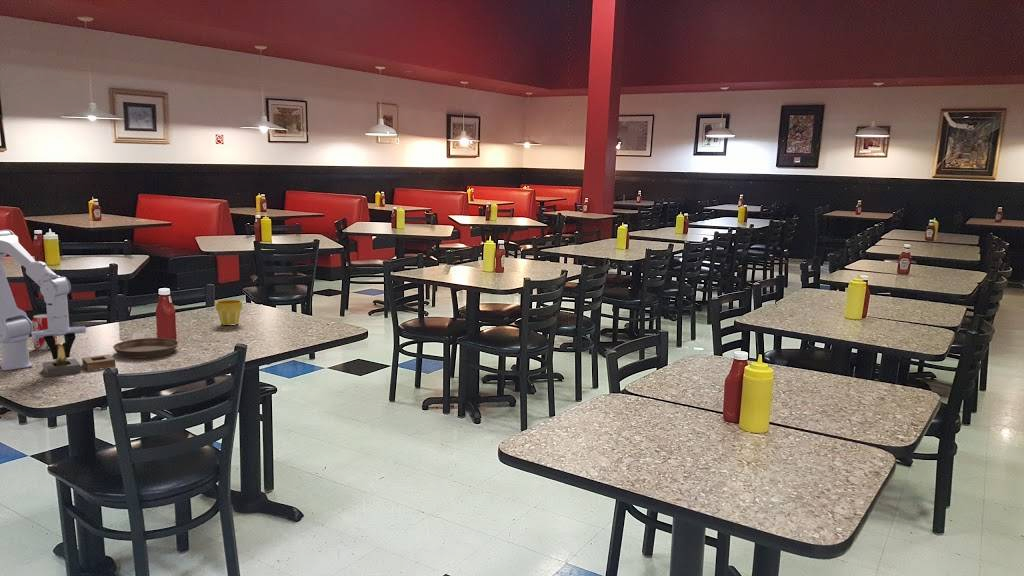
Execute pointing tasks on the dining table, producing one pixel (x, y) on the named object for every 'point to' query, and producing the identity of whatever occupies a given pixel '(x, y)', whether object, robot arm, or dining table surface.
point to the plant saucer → (145, 347)
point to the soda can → (38, 325)
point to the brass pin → (60, 354)
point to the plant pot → (229, 311)
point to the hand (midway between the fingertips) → (61, 357)
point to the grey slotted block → (61, 367)
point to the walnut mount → (98, 362)
